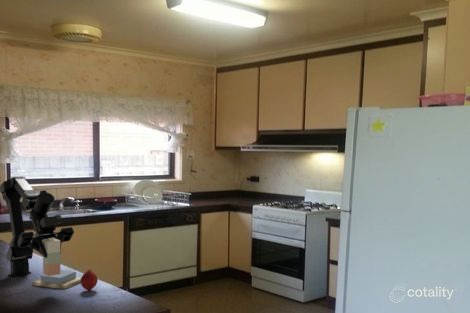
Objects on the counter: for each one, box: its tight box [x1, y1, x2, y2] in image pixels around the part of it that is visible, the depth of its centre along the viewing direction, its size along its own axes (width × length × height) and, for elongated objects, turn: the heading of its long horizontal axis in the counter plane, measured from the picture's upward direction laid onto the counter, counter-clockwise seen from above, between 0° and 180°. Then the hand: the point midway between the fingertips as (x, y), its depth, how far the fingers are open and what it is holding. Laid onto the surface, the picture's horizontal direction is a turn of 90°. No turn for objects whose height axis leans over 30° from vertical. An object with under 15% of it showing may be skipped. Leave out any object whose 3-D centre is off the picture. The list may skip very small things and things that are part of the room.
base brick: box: [40, 269, 77, 284], centre depth 180 cm, size 9×9×2 cm
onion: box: [80, 268, 98, 292], centre depth 170 cm, size 6×6×8 cm
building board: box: [31, 276, 82, 290], centre depth 180 cm, size 15×11×1 cm
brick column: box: [42, 238, 61, 276], centre depth 167 cm, size 4×4×13 cm
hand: (53, 256), depth 166 cm, fingers closed on brick column, 4 cm apart
